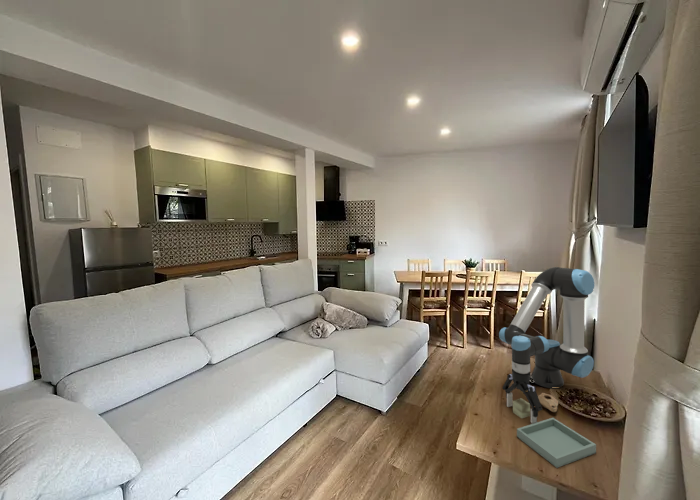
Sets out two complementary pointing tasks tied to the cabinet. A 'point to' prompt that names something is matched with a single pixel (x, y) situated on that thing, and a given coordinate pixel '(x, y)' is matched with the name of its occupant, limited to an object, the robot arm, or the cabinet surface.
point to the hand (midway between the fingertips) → (521, 414)
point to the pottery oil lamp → (548, 402)
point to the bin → (556, 442)
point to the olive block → (521, 408)
